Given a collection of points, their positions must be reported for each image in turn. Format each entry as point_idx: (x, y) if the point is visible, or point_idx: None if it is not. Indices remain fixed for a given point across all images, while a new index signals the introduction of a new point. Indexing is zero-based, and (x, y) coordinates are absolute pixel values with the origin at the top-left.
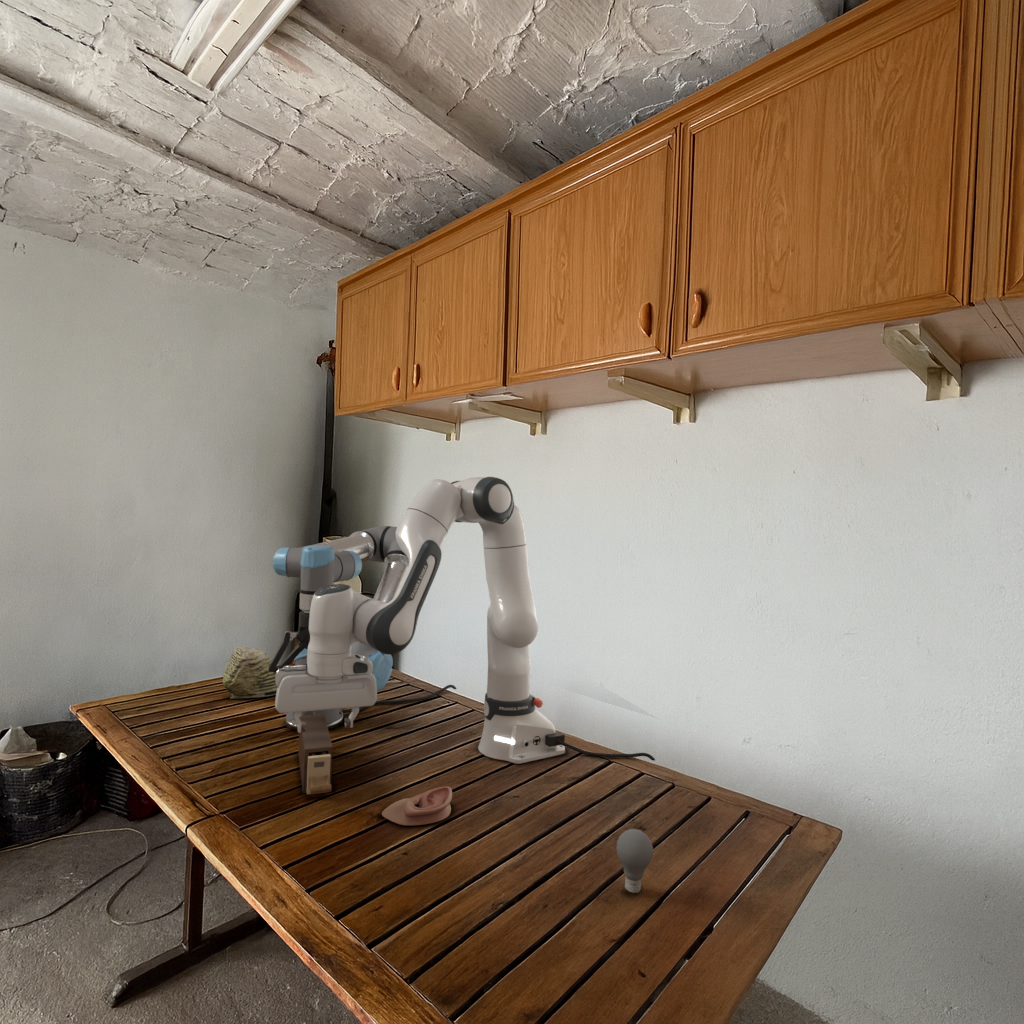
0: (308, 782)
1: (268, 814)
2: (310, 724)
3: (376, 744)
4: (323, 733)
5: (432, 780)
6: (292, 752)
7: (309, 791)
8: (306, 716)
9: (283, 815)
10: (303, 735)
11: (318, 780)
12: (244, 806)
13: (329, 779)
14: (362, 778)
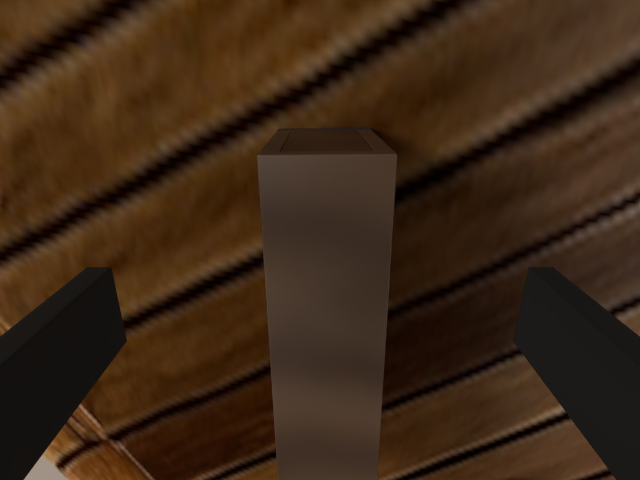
0: None
1: (216, 463)
2: (310, 303)
3: (589, 103)
4: (358, 410)
5: None
6: (256, 104)
7: None
8: (293, 181)
9: (248, 473)
10: (276, 413)
11: None
12: (156, 423)
13: None
14: (454, 357)
